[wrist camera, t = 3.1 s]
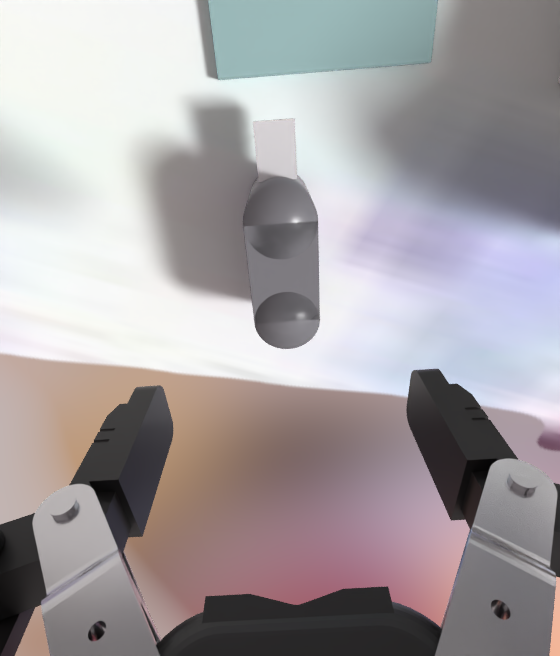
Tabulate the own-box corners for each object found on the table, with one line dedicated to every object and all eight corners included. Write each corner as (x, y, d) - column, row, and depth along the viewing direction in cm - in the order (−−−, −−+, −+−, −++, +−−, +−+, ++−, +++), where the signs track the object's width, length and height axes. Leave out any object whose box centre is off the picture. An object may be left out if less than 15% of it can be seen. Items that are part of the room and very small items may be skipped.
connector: (306, 116, 23) (316, 117, 17) (311, 304, 29) (320, 346, 24) (241, 121, 23) (231, 124, 18) (260, 308, 29) (257, 350, 24)
